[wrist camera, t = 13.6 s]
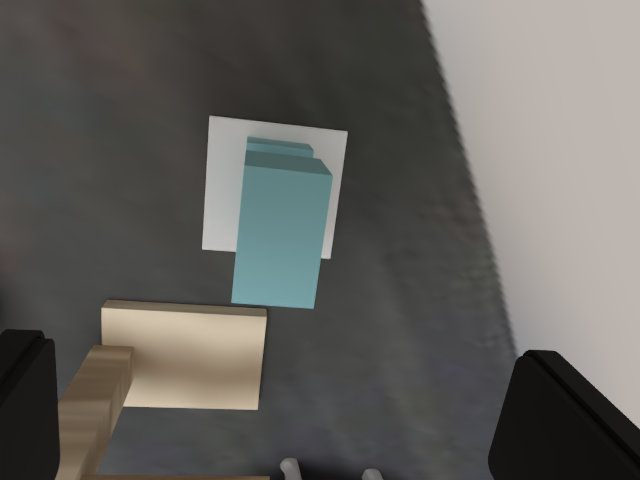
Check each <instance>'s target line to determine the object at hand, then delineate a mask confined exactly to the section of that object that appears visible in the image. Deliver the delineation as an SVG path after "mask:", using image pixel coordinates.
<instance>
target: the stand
mask: <svg viewBox="0 0 640 480" xmlns="http://www.w3.org/2000/svg"><path fill="white" fill-rule="evenodd" d="M266 319H267V313H266V309H263V308H245V307H228V306H210V305H193V304H175V303H158V302H140V301H123V300H106V302H105V303H104V305H103V307H102V345H93V346H92V348H91V350H90V351H89V353H88V355H87V356H86V358H85V360H84V361H83V363H82V365H81V367H80V368H79V370H78V372H77V373H76V375H75V377H74V378H73V380H72V382H71V383H70V385H69V387H68V388H67V390H66V392H65V393H64V395H63V397H62V399H61V400H60V402H59V404H58V418H59V438H60V464H59V469H58V473H57V475H56V478H55V480H270V476H150V475H96V473H97V470H98V468H99V465H100V462H101V460H102V457H103V455H104V452H105V450H106V447H107V445H108V442H109V440H110V437H111V435H112V432H113V430H114V427H115V425H116V422H117V420H118V417H119V415H120V412H121V409H122V407H123V406H132V407H171V408H209V409H248V410H257V408H258V398H259V388H260V379H261V369H262V359H263V349H264V339H265V329H266Z"/></svg>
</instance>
